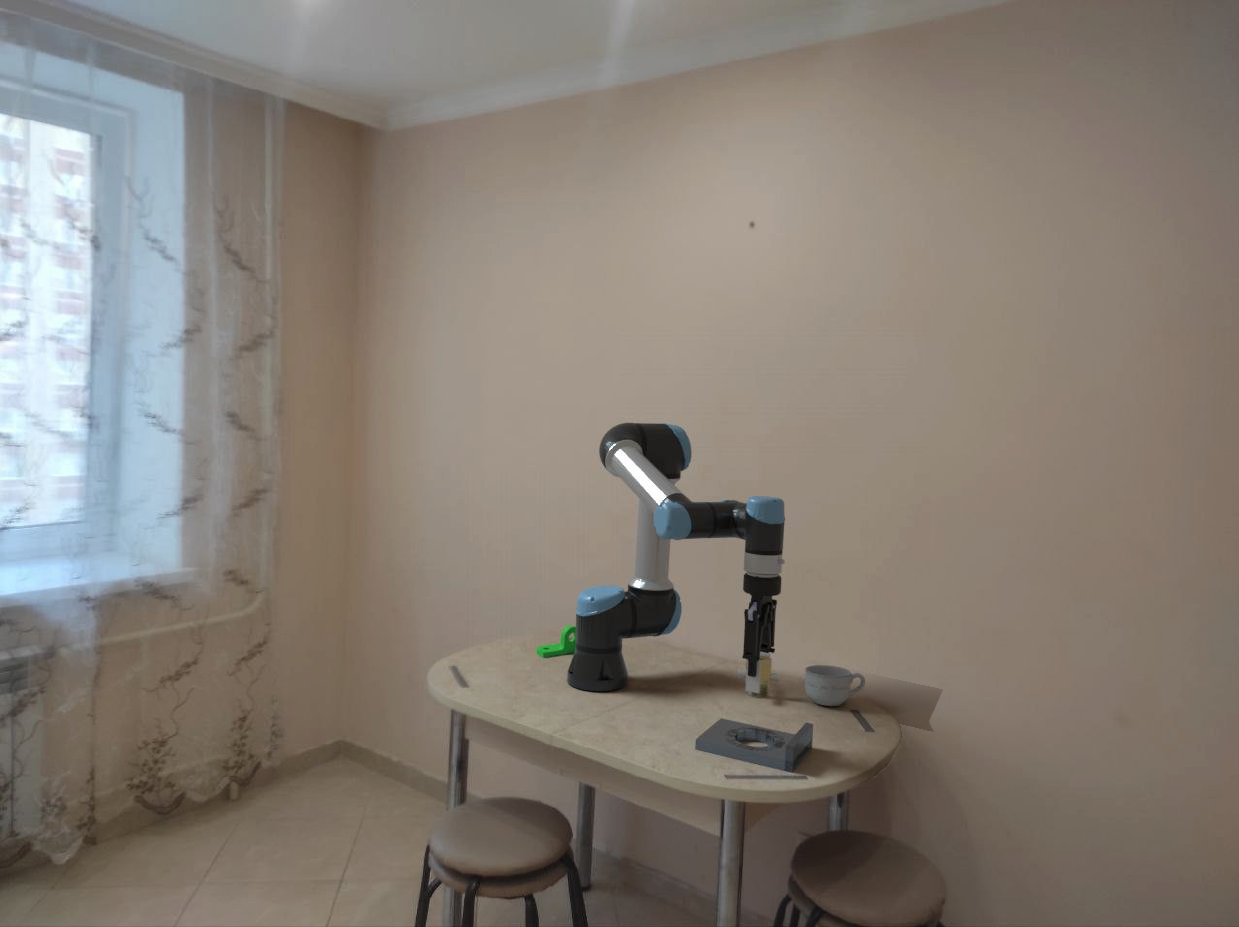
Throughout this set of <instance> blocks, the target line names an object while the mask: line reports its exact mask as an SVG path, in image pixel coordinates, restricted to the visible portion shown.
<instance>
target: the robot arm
mask: <svg viewBox="0 0 1239 927" xmlns="http://www.w3.org/2000/svg"><path fill="white" fill-rule="evenodd" d="M598 452H599V453H598V454H599V459H600V462H601V464H602V465H603V467H604V469H606V471H607V472H608V473H609V474H611V476H614V477H616V478H620V479H621V480H622V481H623V483H625V485H626V486H627V487H628V488H629V489H630V490H631V491H632V492H633V493H634V494H635V495H636V497H638V509H637V511H638V512H637V525H636V526H637V527H636V531H637V532H636V545H635V546H636V548H635V562H634V576H633V577H632V578H630V579H629V580H628V583H627V591H625V590H624V588H623V587H622V586H618V585H613V584H612V585H604V584H603V585H597V586H596V585H595V586H593V587H589V588H586V589H584V590H582V591H581V592H580V593H579V594H578V596H577V602H576V608H575V614H576V615H575V617H576V618H575V619H576V620H575V627H576V644H575V652H574V653H573V656H572V657H571V658H572V659H571V661H570V663H569V667H568V668H567V676H566V681H567V683H568V685H569V686H571V687H573V688H576V689H579V690H584V691H591V692H608V691H609V692H610V691H617V690H620V689H623V688H624V687H626V686H627V685H628V683H629V682H628V681H629V672H628V669H627V664H626V663H625V662H626V661H625V659H624V654H623V640H624V639H635V638H648V637H653V638H654V637H660V636H664V635H669V634H671V633H673V631H674V630H675V629H676V628H677V627H678V625H679V624H680V623H679V622H680V620H681V617H682V610H683V609H682V602H681V596H680V594H679V593H678V591H677V590H676V589H674V586H675V585H674V583H673V582H672V581H671V580H670V579H669V573H670V572H669V569H670V554H671V540H674V541H680V540H696V539H727V538H728V539H729V538H734V539H740V540H744V542H745V543H744V556H743V558H744V559H743V571H744V572H745V573H744V574H743V585H742V590H743V592H744V593H745V594H749V595H750V596H751V597H750V602H749V604H748V608H746V609H745V608H744V611H743V616H744V629H743V630H744V631H743V632H744V633H743V653H742V659H744V660H746V659H747V672H746V678H745V683H746V691H750V692H755V693H760V678H761V660H759V659H760V655H762V656H767V657H769V658H771V654H774V653H775V651H776V648H774V646H775V632H776V612H777V604H778V600H777V599H774V598H773V597H775V596H778V595H781V593H782V577H781V575H780V574H781V573H782V570H783V565H784V564H785V563H786V562H785V561H786V560H785V559H783V550H784V532H785V521H786V516H785V501H784V500H783V498H780V497H777V496H768V495H754V496H749V497H748V498H747V502H740V501H739V500H734V499H732V500H730V499H723V500H719V501H692V500H691V499H690V498H688V497H687V496H686V495H685V494H684V493H683V492H682V491H681V490H680V489H679V488H678V487H677V486H676V485H675V484H676V483H678V482H679V481H680V480H681V477H682V476H681V473H682V472H683V471H685V470H687V469H688V468H689V466H690V464H691V461H692V444H691V441H690V438H689V436H688V434H687V432H686V430H684V428H683V427H681V426H679V425H677V424H669V423H652V422H651V423H644V422H643V423H641V422H637V423H636V422H622V423H619V424H616V425H614V426H612V427H611V428H610V429H609V430H608V431H607V432H605V433H604V435H603V437H602V438H601V441H600V444H599V449H598Z"/></svg>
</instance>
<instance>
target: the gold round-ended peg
mask: <svg viewBox="0 0 1239 927" xmlns="http://www.w3.org/2000/svg"><path fill="white" fill-rule="evenodd" d="M759 660H761V678H760V693H755V692H750V691H746V682H745V683H744V684H745V687H744V689H745V691H744V693H745V694H746V695H748V696H751V697H753V696H756V697H759V698H762V697H768V696H770V695H771V687H772V686H771V685H772V684H771V683H772V681H771V673H772V661H773V659H772V658H771V657H770V658H769V657H767V656H762V655H760V659H759ZM745 662H746V664H745V671H746V672H747V659H745ZM756 697H755V698H756Z"/></svg>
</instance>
